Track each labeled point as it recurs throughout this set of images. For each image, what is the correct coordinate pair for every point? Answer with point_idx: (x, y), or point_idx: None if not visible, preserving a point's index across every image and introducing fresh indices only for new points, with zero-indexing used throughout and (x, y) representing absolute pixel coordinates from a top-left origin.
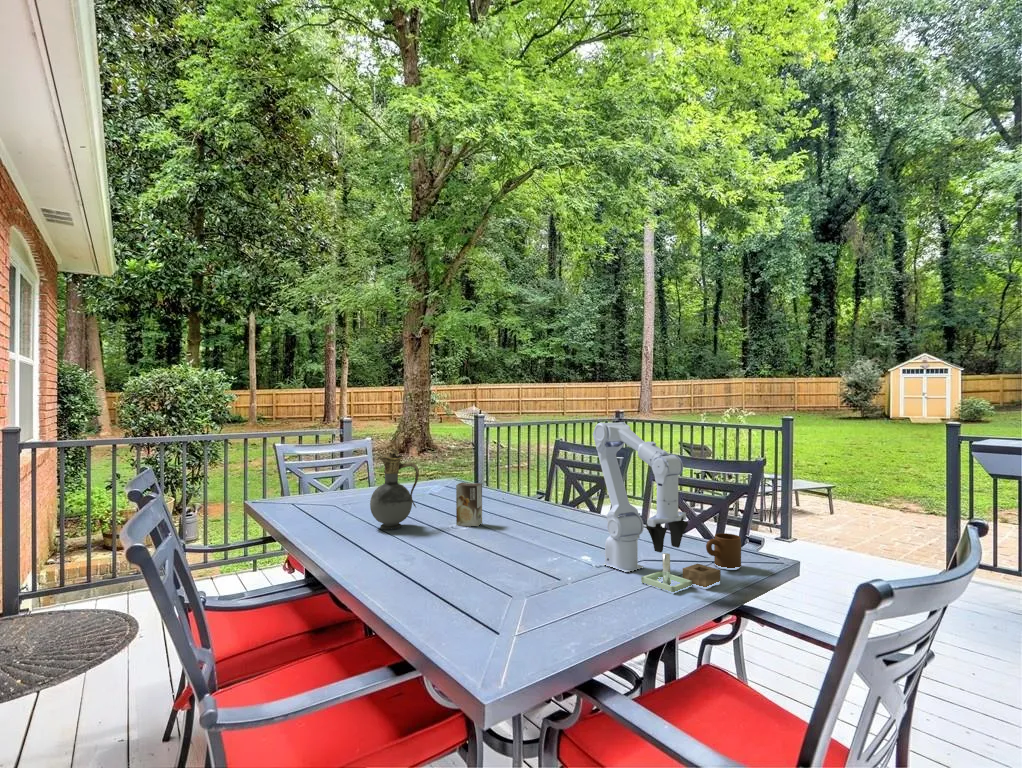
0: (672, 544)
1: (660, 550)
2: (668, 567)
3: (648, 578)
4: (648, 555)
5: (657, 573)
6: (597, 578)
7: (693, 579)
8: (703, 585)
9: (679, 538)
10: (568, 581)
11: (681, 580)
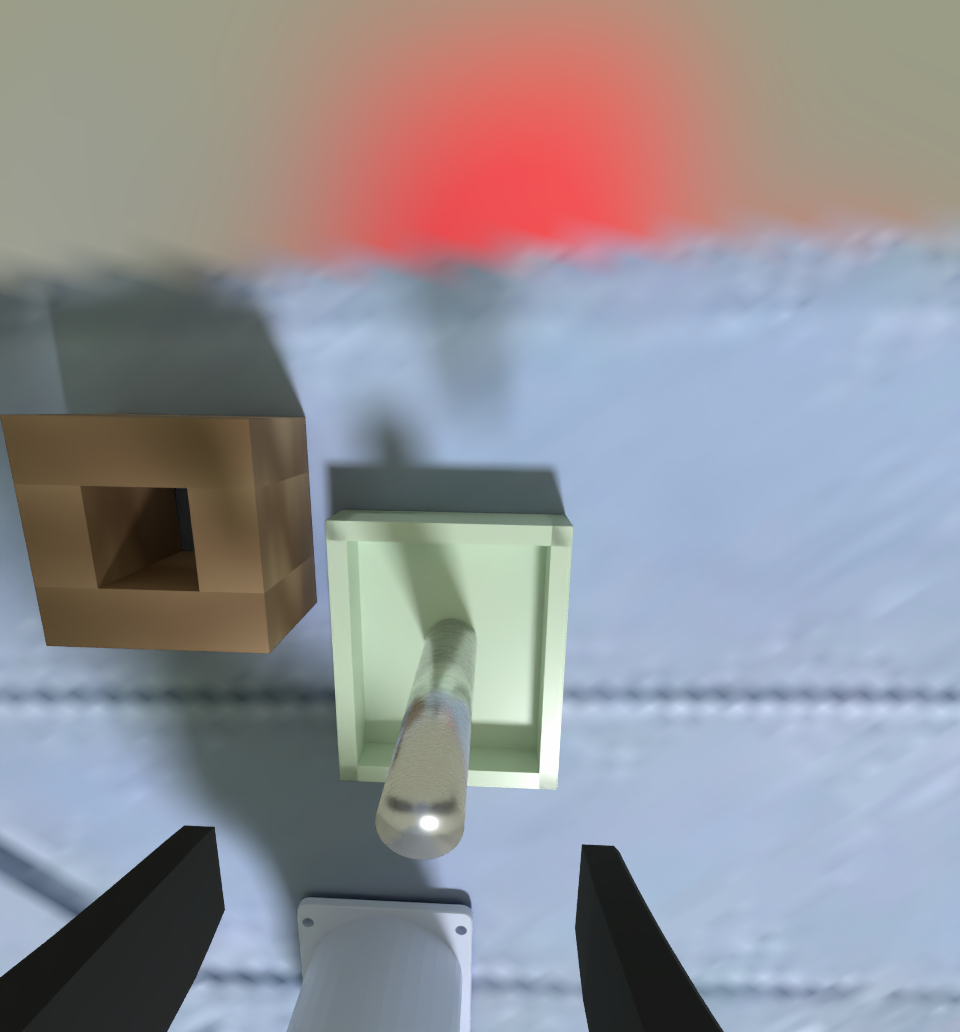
0: (209, 929)
1: (627, 878)
2: (448, 696)
3: (544, 744)
4: None
5: None
6: (679, 952)
7: (290, 529)
8: (295, 436)
9: (89, 969)
10: (849, 1014)
11: (354, 593)
